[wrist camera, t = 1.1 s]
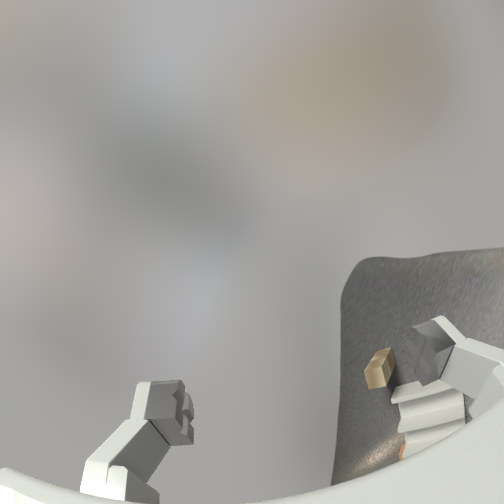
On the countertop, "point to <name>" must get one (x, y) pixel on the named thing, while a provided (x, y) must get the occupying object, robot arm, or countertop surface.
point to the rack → (427, 414)
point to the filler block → (380, 369)
